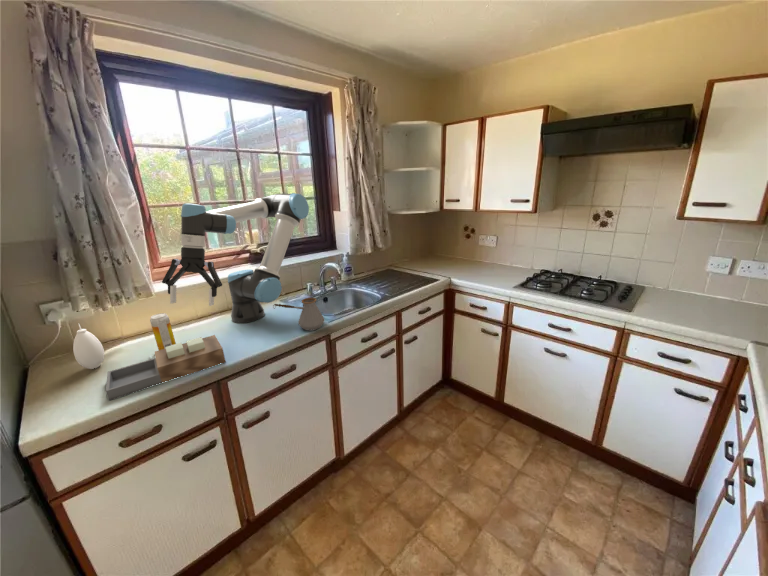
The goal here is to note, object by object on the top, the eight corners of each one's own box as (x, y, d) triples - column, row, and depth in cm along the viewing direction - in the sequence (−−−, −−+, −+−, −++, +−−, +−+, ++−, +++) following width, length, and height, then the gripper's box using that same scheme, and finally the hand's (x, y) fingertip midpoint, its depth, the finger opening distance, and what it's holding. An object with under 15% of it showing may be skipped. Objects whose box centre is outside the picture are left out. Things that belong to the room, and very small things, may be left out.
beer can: (173, 345, 136) (164, 311, 131) (179, 349, 132) (170, 315, 128) (157, 351, 132) (146, 316, 127) (162, 355, 128) (152, 320, 123)
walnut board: (217, 348, 132) (214, 334, 130) (225, 362, 121) (222, 348, 119) (158, 366, 121) (154, 351, 119) (162, 383, 110) (157, 367, 108)
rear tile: (202, 343, 124) (201, 337, 123) (205, 347, 120) (203, 341, 119) (187, 347, 121) (186, 341, 120) (189, 352, 117) (188, 346, 116)
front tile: (183, 348, 120) (181, 342, 119) (184, 353, 116) (183, 347, 115) (167, 353, 117) (165, 346, 116) (168, 358, 113) (166, 352, 113)
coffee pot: (318, 319, 155) (314, 289, 151) (329, 327, 146) (326, 295, 142) (273, 332, 144) (268, 300, 139) (282, 342, 135) (277, 308, 130)
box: (158, 366, 121) (156, 357, 120) (162, 383, 110) (159, 374, 109) (110, 380, 113) (107, 371, 112) (109, 400, 102) (105, 391, 101)
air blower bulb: (76, 375, 117) (58, 329, 111) (88, 364, 124) (71, 320, 118) (102, 371, 119) (85, 325, 113) (112, 360, 126) (97, 317, 120)
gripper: (150, 244, 116) (150, 303, 118) (224, 250, 118) (223, 307, 121) (162, 244, 123) (162, 300, 126) (232, 249, 126) (230, 304, 128)
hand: (192, 304), depth 123 cm, fingers open, 13 cm apart
